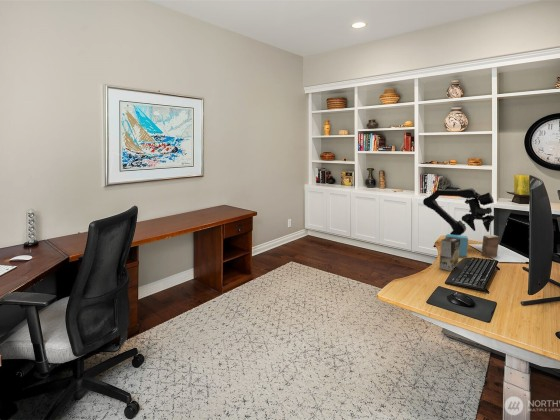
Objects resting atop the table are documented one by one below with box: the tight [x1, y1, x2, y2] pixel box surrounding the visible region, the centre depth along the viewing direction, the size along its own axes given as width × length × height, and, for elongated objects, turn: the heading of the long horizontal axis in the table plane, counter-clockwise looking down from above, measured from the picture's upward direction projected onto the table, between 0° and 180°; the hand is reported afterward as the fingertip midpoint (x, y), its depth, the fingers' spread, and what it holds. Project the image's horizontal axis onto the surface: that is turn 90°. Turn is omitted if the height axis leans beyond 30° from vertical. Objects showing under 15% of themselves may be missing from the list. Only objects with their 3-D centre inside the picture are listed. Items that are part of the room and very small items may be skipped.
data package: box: [444, 233, 469, 258], centre depth 203 cm, size 12×4×12 cm, turn 64°
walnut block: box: [481, 234, 500, 258], centre depth 200 cm, size 4×7×12 cm, turn 101°
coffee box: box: [438, 237, 460, 272], centre depth 183 cm, size 9×6×16 cm
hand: (481, 231), depth 205 cm, fingers open, 9 cm apart
